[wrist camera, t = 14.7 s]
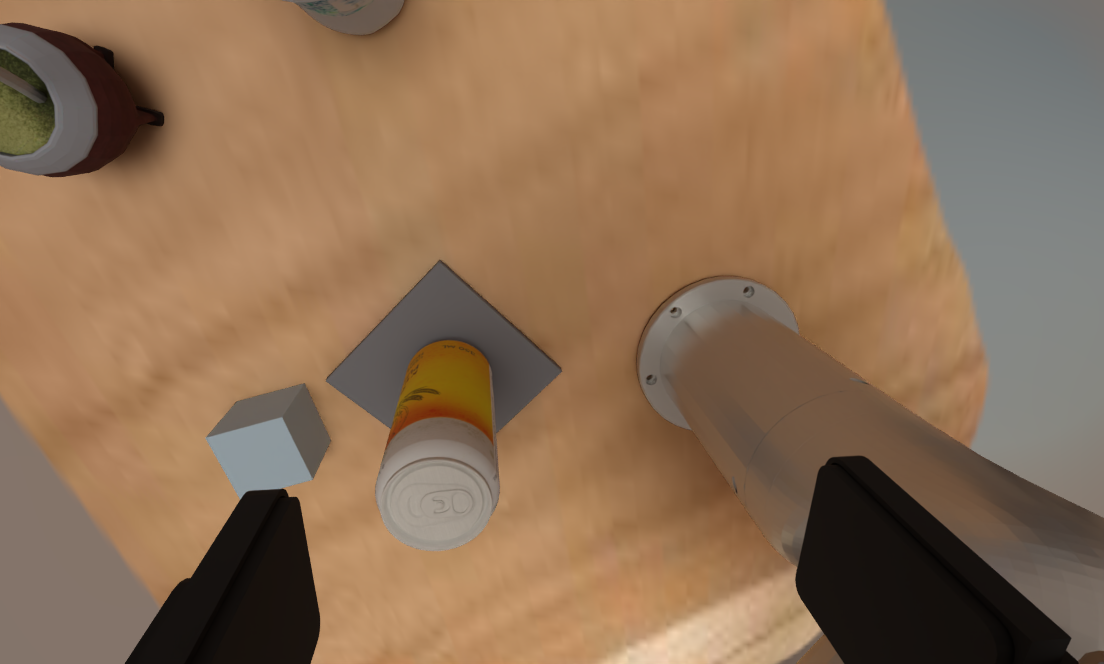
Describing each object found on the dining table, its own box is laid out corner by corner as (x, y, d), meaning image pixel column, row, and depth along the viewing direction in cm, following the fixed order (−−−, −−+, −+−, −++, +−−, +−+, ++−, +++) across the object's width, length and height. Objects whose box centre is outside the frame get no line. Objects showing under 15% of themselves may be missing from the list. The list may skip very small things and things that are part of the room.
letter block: (237, 401, 40) (205, 437, 36) (304, 382, 40) (282, 417, 36) (267, 459, 42) (241, 501, 38) (332, 441, 42) (313, 481, 38)
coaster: (561, 368, 42) (562, 371, 42) (452, 470, 44) (452, 474, 44) (440, 259, 38) (439, 261, 38) (327, 377, 40) (325, 380, 40)
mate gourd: (40, 151, 33) (-277, 175, 19) (34, 5, 31) (-336, -89, 17) (177, 182, 35) (-26, 225, 21) (182, 44, 32) (-46, -11, 18)
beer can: (402, 338, 39) (362, 458, 25) (489, 333, 40) (497, 447, 26) (411, 414, 41) (379, 564, 28) (494, 408, 42) (503, 551, 28)
